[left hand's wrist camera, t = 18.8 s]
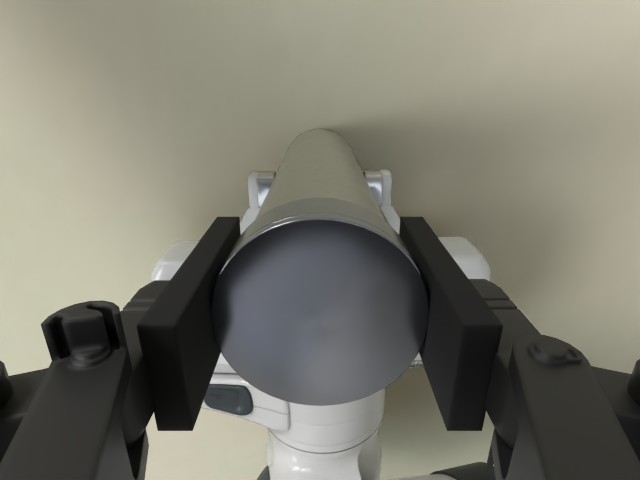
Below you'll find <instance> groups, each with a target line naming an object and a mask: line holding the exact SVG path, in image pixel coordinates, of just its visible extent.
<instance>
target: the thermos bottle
mask: <svg viewBox="0 0 640 480" xmlns="http://www.w3.org/2000/svg"><path fill="white" fill-rule="evenodd" d="M318 197H320V198H334V199H340V200H345V201H349V202H352V203H355V204H358V205H360V206H362V207H365V208H367V209H369V210H371V211H372V212H374V213H375V214H377V215H379V216H380V217H381V218H383V219H384V217H383V215H382V213H381V211H380V209H379V207H378V204H377V202H376V200H375V198H374V196H373V194H372V192H371V189H370V187H369V185H368V183H367V181H366V179H365V176H364V174H363V172H362V170H361V168H360V166H359V164H358V161H357V159H356V157H355V155H354V153H353V151H352V148H351V147H350V145H349V143H348V142H347V141H346V140H345V139H344V138H343V137H342V136H340V135H339V134H337V133H335V132H333V131H330V130H326V129H314V130H309V131H307V132H304V133H302V134H301V135H299V136H298V137H297V138H296V139H295V140H294V141H293V142H292V143H291V145H290V146H289V148H288V150H287V152H286V154H285V156H284V159H283V161H282V163H281V165H280V167H279V169H278V172H277V174H276V176H275V178H274V180H273V182H272V184H271V187H270V189H269V191H268V193H267V195H266V197H265V199H264V202H263V204H262V206H261V208H260V210H259V212H258V215H257V217H256V219H257V218H258V217H260V216H261V215H263V214H264V213H266V212H267V211H269V210H271V209H273V208H275V207H277V206H279V205H282V204H285V203H288V202H291V201H295V200H300V199H305V198H318ZM256 219H255V220H256Z"/></svg>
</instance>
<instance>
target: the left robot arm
mask: <svg viewBox="0 0 640 480" xmlns="http://www.w3.org/2000/svg"><path fill="white" fill-rule="evenodd" d="M240 235H241V232H240V220H239V217H217V218H216V220H215V221H214V222H213V224H212V225H211V226H210V228H209V229H208V230H207V232H206V233H205V234H204V236H203V237H202V238H201V240H200V241H199V242H198V244H197V245H196V246H195V248H194V249H193V250H192V252H191V253H190V254H189V256H188V257H187V258H186V260H185V261H184V262H183V264H182V265H181V266H180V268H179V269H178V270H177V272H176V273H175V275H174V276H173V277H172V279H171V280H154V281H153V282H151V283H149V284H148V285H146V286H144V287H143V288H141V289H140V290H139V291H138V292H137V293H136V294H135V295H134V296H133V298H132V299H131V302H128V303H127V305H126V306H125V307H124V308H123V311H121V312H120V310H119V307H118V306H117V305H115V304H114V303H112V302H107V301H88V302H83V303H79V304H74V305H72V306H69V307H66V308H64V309H61V310H59V311H57V312H56V313H54V314H52V315H50V316H49V317H48V318H47V319H46V320H45V321H44V322H43V323H42V324H41V327H42V330H43V333H44V336H45V339H46V343H47V346H48V349H49V352H50V356H51V359H52V362H51V364H50V366H49V368H46V369H42V370H37V371H32V372H27V373H22V374H17V375H12V376H8V373H7V371H6V368H5V365H4V363H3V362H1V361H0V480H144V479H145V471H146V463H147V455H148V447H149V444H148V437H147V433H146V426H147V424H148V422H149V420H150V418H151V416H152V414H153V412H154V414H155V419H156V424H157V428H158V431H193V428H194V425H195V422H196V420H197V417H198V414H199V411H200V408H201V406H202V403H203V400H204V397H205V395H206V392H207V389H208V386H209V384H210V381H211V378H212V375H213V373H214V370H215V367H216V364H217V362H218V359H219V356H220V353H221V351H220V349H219V348H218V346H217V343H216V340H215V338H214V335H213V330H212V322H211V313H210V305H211V297H212V293H213V289H214V285H215V283H216V280H217V278H218V276H219V273H220V271H221V269H222V268H223V266H224V264H225V262H226V260H227V258H228V256H229V254H230V252H231V250H232V248H233V246H234V245H235V243H236V242H237V240H238V238H239V237H240ZM399 236H400V237H401V239H402V240H403V242H404V243H405V245H406V247H407V249H408V251H409V253H410V255H411V257H412V258H413V260H414V262H415V264H416V266H417V268H418V270H419V272H420V274H421V276H422V278H423V281H424V283H425V286H426V290H427V293H428V299H429V306H430V309H429V320H428V328H427V334H426V337H425V340H424V343H423V345H422V347H421V349H420V351H419V354H420V357H421V360H422V362H423V365H424V368H425V371H426V373H427V376H428V379H429V382H430V384H431V387H432V390H433V393H434V395H435V398H436V401H437V404H438V406H439V409H440V412H441V415H442V417H443V420H444V423H445V426H446V428H447V431H482V427H483V422H484V417H485V413H486V411H487V413H488V415H489V417H490V419H491V421H492V423H493V425H494V427H495V428H494V433H493V437H492V442H491V446H490V451H489V455H488V460H487V465H486V472H490V473H491V472H492V467H493V464H494V470H495V478H496V480H640V359H639V360H638V361H637V362H636V364H635V367H634V370H633V372H632V374H627V373H622V372H617V371H612V370H607V369H602V368H597V367H593V366H590V364H589V362H588V360H587V359H586V358H585V356H584V355H583V354H582V353H581V352H580V351H579V350H577V349H576V348H574V347H573V346H572V345H570V344H568V343H566V342H563V341H561V340H559V339H556V338H553V337H549V336H544V335H541V334H540V333H539V332H538V331H537V330H536V329H535V327H534V326H533V325H532V324H531V323H530V322H529V320H528V319H527V318H526V317H525V316H524V315H523V314H522V312H521V311H520V310H519V309H517V307H516V305H515V304H514V303H513V302H512V301H511V300H509V297H508V296H507V295H506V294H505V293H504V292H503V290H502V289H501V288H500V287H498V286H496V285H495V284H493V283H491V282H489V281H488V280H486V279H468V278H467V276H466V275H465V274H464V272H463V271H462V270H461V268H460V267H459V265H458V264H457V263H456V261H455V260H454V259H453V257H452V256H451V255H450V253H449V252H448V251H447V249H446V248H445V247H444V245H443V244H442V243H441V241H440V240H439V239H438V237H437V236H436V235H435V233H434V232H433V231H432V229H431V228H430V227H429V225H428V224H427V223H426V221H425V220H424V219H423V217H400V229H399Z"/></svg>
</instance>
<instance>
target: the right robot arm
mask: <svg viewBox="0 0 640 480" xmlns="http://www.w3.org/2000/svg"><path fill="white" fill-rule="evenodd" d="M276 174H277V172H260V171H257V172H251V173H250V174H249V176H248V192H249V203H250V205H249V207H248V209H247V211H246V213H245V215H244V217H243V219H242V221H241V223H240V232H241V234H242V233H243V232H244V231H245V229H246V228H247V227H248V226H249V225H250V224H251V223H252V222H254V221H255V219H256V217H257V215H258V212H259V210H260V208H261V206H262V204H263V202H264V199H265V197H266V195H267V193H268V191H269V189H270V187H271V184H272V182H273V180H274V178H275V176H276ZM363 174H364V176H365V179H366V181H367V183H368V185H369V187H370V189H371V192H372V194H373V196H374V198H375V200H376V202H377V204H378V206H379V207H380V209H381V211H382V213H383V214H384V216H385V218H386V220H387V222H388V223H389V224H390V225H391V226H392V227H393V229H394V230H395V231H396V232H397V233H398V234H399V229H400V218H399V217H398V215H397V213H396V211H395V209H394V207H393V206H392V204H391V186H392V178H391V173H390V171H389V170H388V169H381V170H379V169H378V170H363ZM438 239H439V240H440V241H441V243H442V244H443V245H444V247H445V248H446V249H447V251H448V252H449V253H450V255H451V256H452V257H453V259H454V260H455V261H456V263H457V264H458V265H459V267H460V268H461V270H462V271H463V272H464V274H465V275H466V276H467V278H468V279H486V280H488V281H490V275H491V270H490V266H489V264H488V262H487V261H486V259H485V258H484V256H483V255H482V254H481V253H480V251H479V250H478V249H477V248H476V247H475V246H474V245H473V244H472V243H471V242H469V241H468V240H467V239H466V238H463V237H438ZM198 242H199V241H179V242H176V243H175V244H173V245H172V246H171V247H170V248H169V249H168V250H167V251H166V252H165V253H164V254H163V256H162V257H161V258H160V259H159V261H158V262H157V264H156V265H155V267H154V268H153V271H152V274H151V282H153V281H154V280H171V279H172V277H173V276H174V275H175V273H176V272H177V270H178V269H179V268H180V266H181V265H182V264H183V262H184V261H185V260H186V258H187V257H188V256H189V254H190V253H191V252H192V250H193V249H194V248H195V246H196V245H197V244H198ZM421 367H424V365H423V362H422V360H421V357H420V354H419V353H418V355H417V356H416V358H415V359H414V361H413V362H412V363H411V365H410V366H409V367H408V368H407V369H413V368H421ZM384 402H385V388H383V389H382V390H380V391H378V392H376V393H374V394H372V395H370V396H367V397H365V398H362V399H360V400H356V401H352V402H349V403H344V404H338V405H327V406H312V405H302V404H295V403H291V402H287V401H283V400H280V399H278V398H275V397H272V396H270V395H268V394H266V393H264V392H262V391H260V390H258V389H257V388H255V387H253V386H252V385H250V384H249V383H248V382H246V381H245V380H244V379H243V378H241V377H240V376H239V375H238V374H237V373H236V372H235V371H234V370H233V369H232V368H231V366H230V365H229V364H228V362H227V361H226V360H225V358H224V357H223V355H222V353H220V356H219V359H218V362H217V364H216V367H215V370H214V373H213V375H212V378H211V381H210V384H209V386H208V389H207V392H206V395H205V397H204V400H203V403H202V406H201V408H204V409H208V410H213V411H217V412H221V413H225V414H229V415H233V416H237V417H240V418H243V419H246V420H249V421H252V422H255V423H257V424H260V425H262V426H265V427H267V429H268V431H269V433H270V434H269V437H268V441H267V448H266V457H267V466H266V468H265V469H264V470H263V471H262V472H261V474H260V475H259V477H258V479H257V480H379V478H380V468H381V455H382V454H381V441H380V437H379V434H378V431H379V429H380V426H381V424H382V420H383V415H384ZM486 465H487V463H484V462H477V463H472V464H468V465H463V466H459V467H454V468H450V469H445V470H441V471H436V472H433V473H431V474H430V475H424V476H415V477H407V478H398V479H389V480H496V478H495V470H494V466H493V467H492V472H491V473H490V472H486Z"/></svg>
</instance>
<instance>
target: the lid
mask: <svg viewBox="0 0 640 480" xmlns="http://www.w3.org/2000/svg"><path fill="white" fill-rule="evenodd" d="M429 309H430V306H429V299H428V293H427V290H426V286H425V283H424V281H423V278H422V276H421V274H420V272H419V270H418V268H417V266H416V264H415V262H414V260H413V258H412V257H411V255H410V253H409V251H408V249H407V247H406V245H405V243H404V242H403V240H402V239H401V237H400V236H399V234H398V233H397V232H396V231H395V230H394V229H393V227H392V226H391V225H390V224H389V223H387V222H386V221H385V220H384V219H383V218H381V217H380V216H379V215H377V214H375V213H374V212H372V211H371V210H369V209H367V208H365V207H362V206H360V205H358V204H355V203H352V202H349V201H345V200H340V199H334V198H320V197H318V198H305V199H300V200H295V201H291V202H288V203H285V204H282V205H279V206H277V207H275V208H273V209H271V210H269V211H267V212H266V213H264V214H263V215H261V216H260V217H258V218H257V219H256V220H255V221H254V222H252V223H251V224H250V225H249V226H248V227H247V228H246V229H245V231H244V232H243V233H242V234H241V235H240V237H239V238H238V240H237V242H236V243H235V245H234V246H233V248H232V250H231V252H230V254H229V256H228V258H227V260H226V262H225V264H224V266H223V268H222V269H221V271H220V273H219V276H218V278H217V280H216V283H215V285H214V289H213V293H212V297H211V305H210V313H211V322H212V330H213V335H214V338H215V340H216V343H217V346H218V348H219V349H220V351H221V353H222V355H223V357H224V358H225V360H226V361H227V362H228V364H229V365H230V366H231V368H232V369H233V370H234V371H235V372H236V373H237V374H238V375H239V376H240V377H241V378H243V379H244V380H245V381H246V382H248V383H249V384H250V385H252V386H253V387H255V388H257V389H258V390H260V391H262V392H264V393H266V394H268V395H270V396H272V397H275V398H278V399H280V400H283V401H287V402H291V403H295V404H302V405H312V406H327V405H338V404H344V403H349V402H352V401H356V400H360V399H362V398H365V397H367V396H370V395H372V394H374V393H376V392H378V391H380V390H382V389H383V388H385V387H386V386H388V385H389V384H391V383H392V382H394V381H395V380H396V379H397V378H398V377H399V376H401V375H402V374H403V373H404V372H405V370H406V369H407V368H408V367H409V366H410V365H411V363H412V362H413V361H414V359H415V358H416V356H417V355H418V353H419V351H420V349H421V347H422V345H423V343H424V340H425V337H426V334H427V328H428V320H429Z"/></svg>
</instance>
